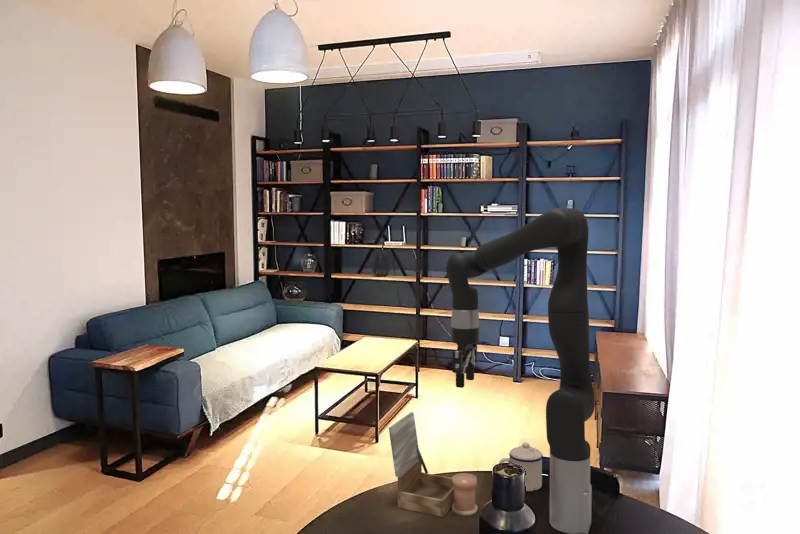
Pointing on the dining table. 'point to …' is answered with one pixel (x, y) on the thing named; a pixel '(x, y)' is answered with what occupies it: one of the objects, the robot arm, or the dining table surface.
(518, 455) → the teacup with lid
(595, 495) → the dining table surface
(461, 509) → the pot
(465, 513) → the coaster
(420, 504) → the cold frame
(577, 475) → the robot arm
